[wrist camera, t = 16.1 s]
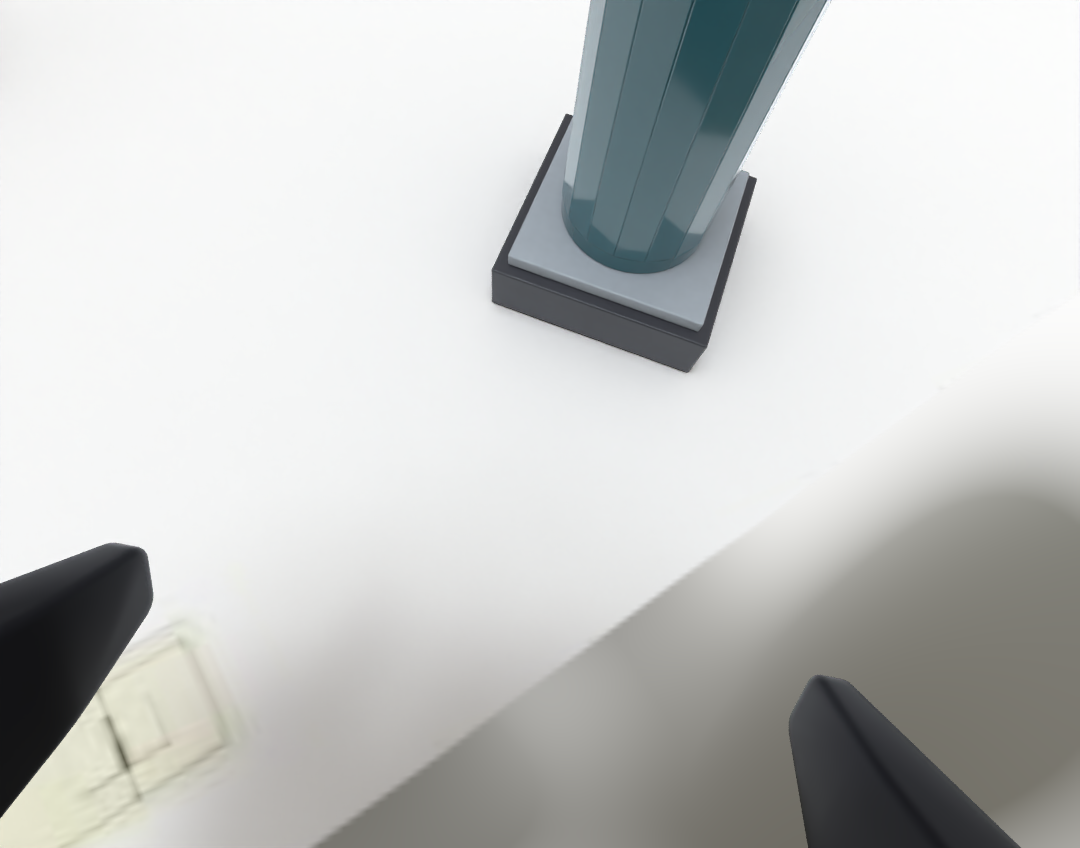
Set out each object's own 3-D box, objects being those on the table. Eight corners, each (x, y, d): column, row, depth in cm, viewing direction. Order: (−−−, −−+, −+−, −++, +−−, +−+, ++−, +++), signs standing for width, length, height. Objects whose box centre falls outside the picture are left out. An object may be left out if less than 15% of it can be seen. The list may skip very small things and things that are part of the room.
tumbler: (662, 300, 22) (868, -106, 10) (532, 224, 23) (573, -242, 11) (730, 199, 24) (975, -248, 12) (608, 131, 25) (718, -355, 12)
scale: (688, 373, 24) (712, 340, 22) (491, 302, 25) (490, 260, 22) (736, 214, 27) (764, 167, 25) (560, 153, 28) (567, 100, 25)
